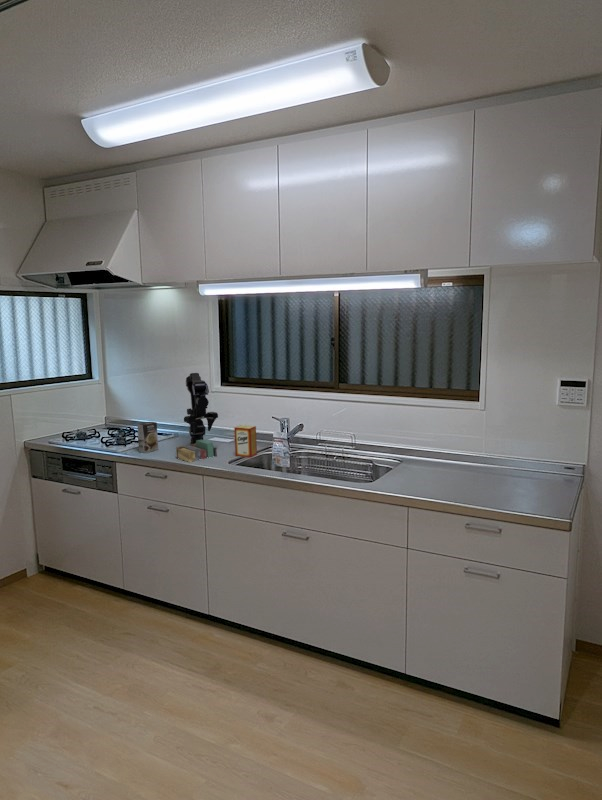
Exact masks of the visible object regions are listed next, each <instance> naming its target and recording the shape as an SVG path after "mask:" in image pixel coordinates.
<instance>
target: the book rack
mask: <svg viewBox="0 0 602 800" xmlns="http://www.w3.org/2000/svg"><path fill="white" fill-rule="evenodd" d="M175 449H176V451H175V452H176V459H177V458H179V459H178V460H180V459H182V460H181V461H183V460H185V461H184V462H186V461H188V462H187V463H189V462H190V463H193V462H192V461H194V462H196V461H195V460H198V461H200V460H199V459H203V460H205V459H204V458H207V457H206V450H203V449H200V448H196V443H195V444H191V443H190V444H187V445H183V446H177V447H176V448H175ZM213 453H214V457H217V456H218V453H217V447H214V446H213ZM207 459H208V458H207Z"/></svg>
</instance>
